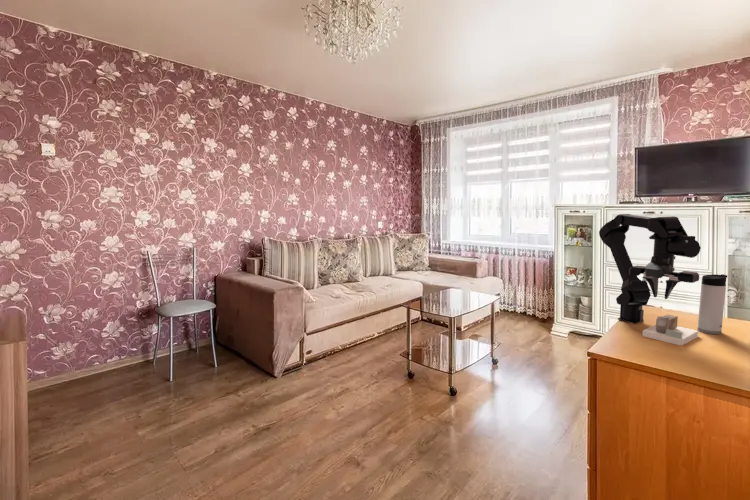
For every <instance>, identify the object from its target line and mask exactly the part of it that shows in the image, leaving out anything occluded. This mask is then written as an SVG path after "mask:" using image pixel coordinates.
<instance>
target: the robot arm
mask: <svg viewBox="0 0 750 500" xmlns="http://www.w3.org/2000/svg"><path fill="white" fill-rule="evenodd" d="M630 227H636V228H641V229H642V228H643V229H647V230H648V231H649V232H650V233H653V234H651V235H650V236H649V237H648V240H653V255H651V258H650V262H649V263H648V264H646V265H645V266H644V265H638V264H637V265H633V262H632V261H631V258H630V256H629V253H628V250H627V248H626V246H625V245H626V244H625V242H626V239H627V236H626V233H627V232H628V231H629V230H630ZM598 232H599V233H598V235H599V238H600V239H601V241H602V243H603V244H604V245H605V246H607V248H609V249H610V253H611V254H612V257H613V260H614V262H615V265H616V267H617V270H618V272H619V275H620V277H621V280H622V284H621V287H620V291H621V293H620V294H619V295H618V296H617V297H616V298H615V300H616V304H617V305H619V306H620V307H619V308H620V311H619V317H618V318H617V320H618V321H622V322H628V323H631V324H639V323H641V322H644V320H645V319H644V311H645V310H644V309H643V306H647V305H648V302H649V300H650V297H651V292H652V294H653V297H654V298H657V296H658V293H659V279H662V278H663V277H665V278H668V279H667V280H665V284H666V285H665V289H664V290H665V291H664V300H668V299H669V297H670V295H671V294H672V291H673V290H674V288H675V287H676V286H677V285H678V284H679V283H681V282H683V283H689V284H693V283H696V282H699V281H700V274H699V273H698V272H697V271H688V270H683V271H680V272H679V271H678V272H675V269H676V268H675V267H674V266H675V265H674V264H675V260H676V257H677V256H679V257H685V258H692V259H693V258H695V257H697V256H698V255H699V254H700V252H701V249H702V248H701V245H700V243H699V241H697V240H696V236H695V235H688V233H687V231H686V230H685V228H684V227H683V225H682V222H681V221H680V220H679V217H678V216H676V215H675V216H656V217H655V216H654V217H651V216H642V215H634V214H630V213H620V214H617V215H616V216H615V217H614V218H613V219H611V220H610V221H608V222H607V223H604V225H602V227H601V228H600V229H599V231H598ZM641 274H642V275H643V276H642V279H643V280H641V279H640V278H639V277H638V276H640V275H641ZM620 319H621V320H620Z"/></svg>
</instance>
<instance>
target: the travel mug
mask: <svg viewBox="0 0 750 500" xmlns="http://www.w3.org/2000/svg"><path fill="white" fill-rule="evenodd" d="M727 278H728V275H727V274H704V275H702V277H701V286H700V295H699V297H700V298H699V307H698V318H697V320H698V321H697V331H698V332H701V333H704V334H708V335H720V334H722V331H723V330H722V329H723V322H724V321H723V319H724V310H725V298H726V297H725V296H726V286H727Z"/></svg>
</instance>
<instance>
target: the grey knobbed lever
mask: <svg viewBox="0 0 750 500" xmlns="http://www.w3.org/2000/svg"><path fill="white" fill-rule="evenodd" d="M655 320H656V322H655V325H656V331H658V332H662V333H666V329H670V330H673V329H675V328H677V326H678V321H679V320H678V316H677V315H672V314H668V313H667V314H665V315H663V316H661V315H660V316H657V317H656V319H655Z"/></svg>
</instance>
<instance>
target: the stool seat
mask: <svg viewBox="0 0 750 500" xmlns="http://www.w3.org/2000/svg"><path fill="white" fill-rule="evenodd" d="M641 336H642V337H645V338H649V339H654V340H657V341H661V342H665V343H669V344H674V345H677V346H684V345H686V344H687V343H689V342H691V341H693V340H695V339H696V338H698V337H699V330H698V329H697V330H696V329H692V328H687V327H684V326H683V327H682V326H678V325H677V328H675V329H673V330H670V329H666V333H662V332H658V331H656V324H654V325H652V326H650V327H647V328H645V329H643V330H642V335H641Z"/></svg>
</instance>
